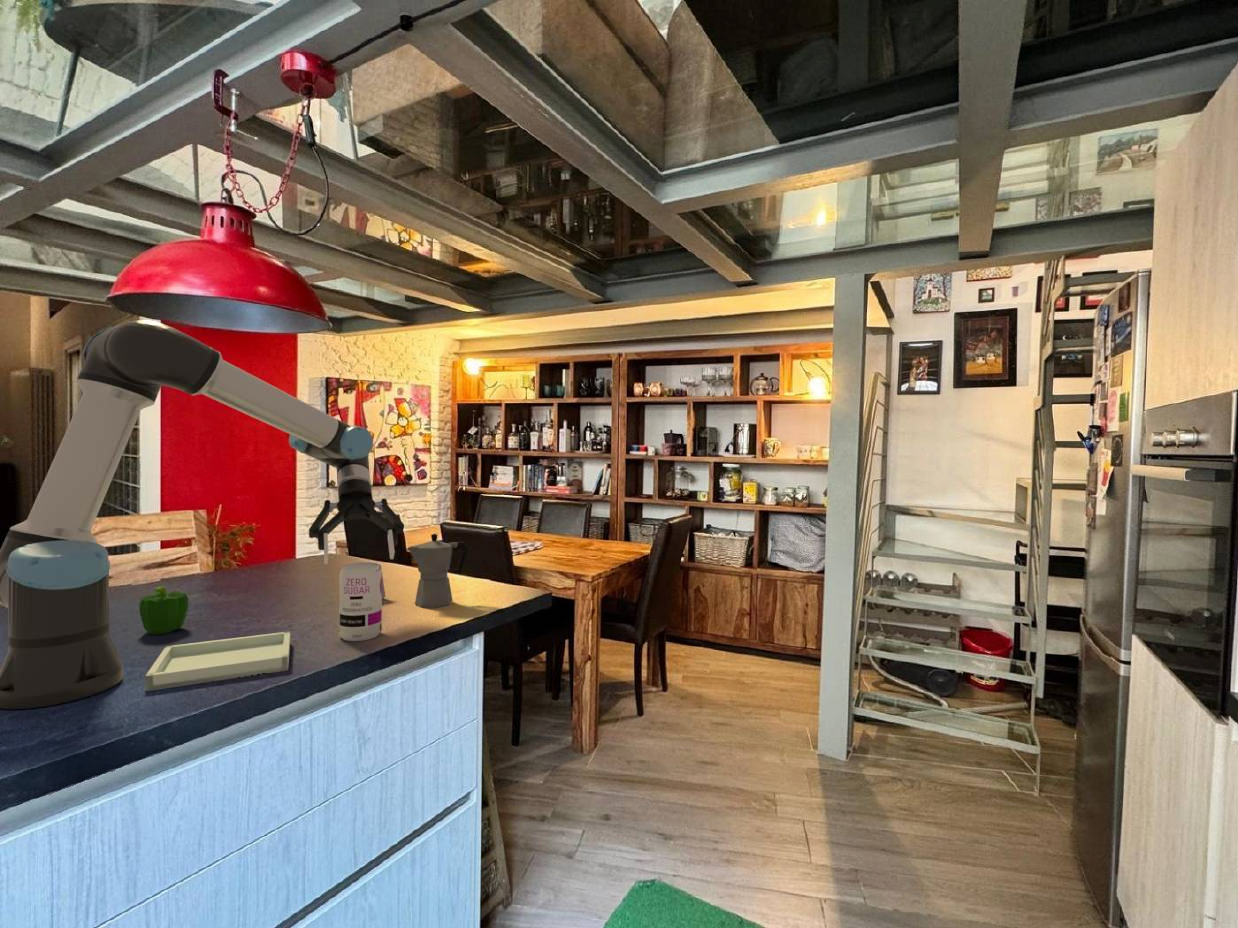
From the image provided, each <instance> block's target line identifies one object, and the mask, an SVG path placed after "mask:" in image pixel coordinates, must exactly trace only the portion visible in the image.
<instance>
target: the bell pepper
mask: <svg viewBox="0 0 1238 928" xmlns="http://www.w3.org/2000/svg"><path fill="white" fill-rule="evenodd" d="M138 604H139V614H140V618H141V619H140V620H141V623H142V625H143V626H142V627H143V628H144V630H145V631H146V632H147V633H149V634H152V635H164V634H168V633H171V632H173V631H176V630H180V629H182V626H183V625H184V623H185V620H186V617H187V614H188V609H189V597H188V595H187V593H185V592H184V593H183V592H181V591H178V590H177V591H172V592H170V593H167V590H166V588H165V587H164V586H158V587H156V588H155V592H154V593H152V594H150V595H145V596H142V597H141V598H140V599H139V603H138Z"/></svg>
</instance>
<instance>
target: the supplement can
mask: <svg viewBox="0 0 1238 928" xmlns="http://www.w3.org/2000/svg"><path fill="white" fill-rule="evenodd" d="M379 564H380V563H378V562H372V561H371V562H368V561H367V562H363V561H362V562H353V563H347V564H344V565H342V569H341V571H340V573H338V574H339V575H338V576H339V577H338V582H339V584H338V586H339V587H338V597H339V598H338V599H339V600H338V610H339V611H338V636H339V637H340V638H342V640H344V641H347V642H361V641H368V640H371V639H374V638H376V637H378V636H379V635H380V634H381V633H382V632H383V631H382V629H383V628H382V624H383V622H382V620H383V615H382V614H383V613H382V611H383V604H382V603H383V599H382V576H383V570H381V569H382V568H381V569H380V567H379Z"/></svg>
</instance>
